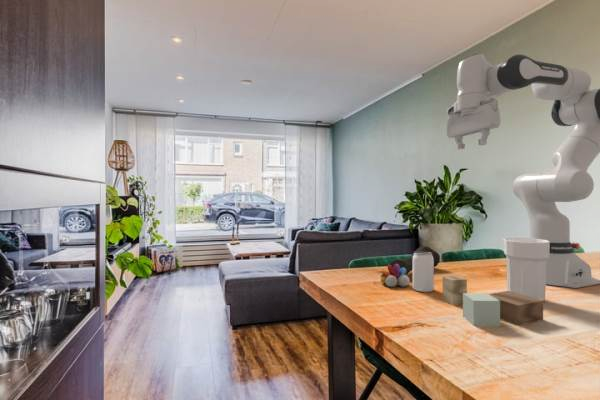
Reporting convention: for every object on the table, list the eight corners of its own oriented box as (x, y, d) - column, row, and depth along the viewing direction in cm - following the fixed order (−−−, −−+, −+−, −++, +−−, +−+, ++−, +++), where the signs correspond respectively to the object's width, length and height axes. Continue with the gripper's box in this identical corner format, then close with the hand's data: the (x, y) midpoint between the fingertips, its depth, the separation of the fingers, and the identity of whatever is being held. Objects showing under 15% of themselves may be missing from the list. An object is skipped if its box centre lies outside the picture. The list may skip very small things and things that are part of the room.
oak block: (456, 299, 97) (456, 275, 97) (466, 304, 93) (466, 279, 93) (442, 300, 96) (442, 276, 96) (452, 305, 92) (452, 280, 92)
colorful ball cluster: (377, 282, 117) (376, 261, 117) (403, 281, 118) (403, 261, 118) (385, 288, 109) (385, 266, 109) (413, 287, 110) (413, 266, 110)
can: (435, 293, 103) (435, 255, 103) (414, 292, 104) (413, 254, 104) (431, 287, 110) (431, 251, 109) (411, 286, 111) (411, 251, 111)
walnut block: (508, 309, 89) (507, 290, 89) (543, 320, 81) (543, 300, 81) (483, 313, 86) (483, 294, 86) (517, 326, 77) (518, 305, 77)
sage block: (487, 317, 83) (487, 293, 83) (500, 326, 77) (500, 300, 77) (462, 316, 84) (462, 293, 83) (473, 325, 78) (473, 300, 77)
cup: (494, 296, 100) (494, 238, 99) (518, 291, 104) (518, 236, 104) (533, 307, 89) (533, 243, 89) (558, 301, 94) (558, 241, 94)
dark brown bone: (424, 270, 144) (394, 291, 124) (412, 248, 146) (380, 266, 126) (446, 261, 137) (418, 283, 117) (433, 239, 139) (403, 256, 119)
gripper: (505, 96, 100) (505, 142, 100) (458, 113, 120) (458, 151, 120) (488, 95, 98) (488, 141, 98) (443, 112, 118) (443, 150, 118)
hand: (471, 147), depth 109 cm, fingers open, 8 cm apart
